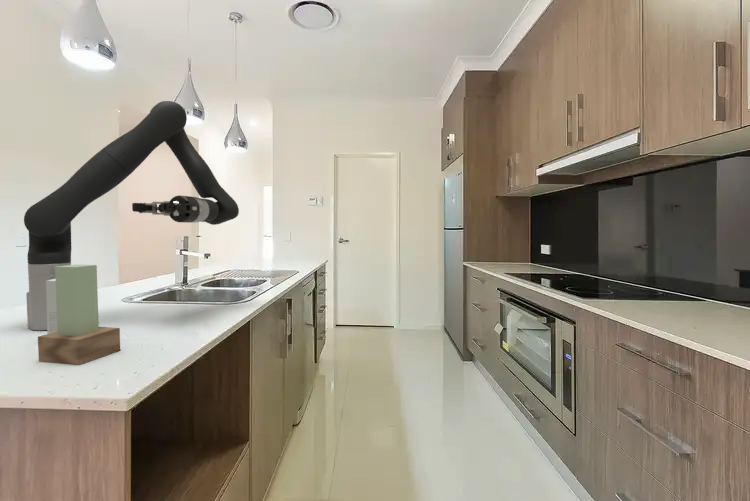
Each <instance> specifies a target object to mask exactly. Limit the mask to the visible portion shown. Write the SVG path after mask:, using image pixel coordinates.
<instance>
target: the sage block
mask: <svg viewBox="0 0 750 501" xmlns="http://www.w3.org/2000/svg"><path fill="white" fill-rule="evenodd" d="M97 269H98V265H97V264H71V265H67V266H57V267H55V278H56V304H57V330H58V335H66V336H81V335H84V334H88V333H92V332H95V331H99V327H100V324H99V322H100V321H99V295H98V294H99V293H98V270H97Z"/></svg>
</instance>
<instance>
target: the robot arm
mask: <svg viewBox="0 0 750 501" xmlns="http://www.w3.org/2000/svg"><path fill="white" fill-rule="evenodd" d="M187 120H188V119H187V113H186V109H185V108H184V107H183V106H182V104H179V103H178V102H174V101H173V100H172V101H171V100H164V101H160V102H158V103H156V104H155V105H153V107H152V108H151V109H150V111H149V113H148V114H147V115H146V116H145V117H144V118H143V119H142V120H141V121H140V122H139V123H138V124H137V125H136V126H135V127H133V128H132V129H131V130H129V131H127V132H125V133H124V134H123V135H121V136H119V137H117V138H116V139H114V140H113V141H112V142H110V143H108V144H107V145H106V146H104V147H103V148H102V149H100V150H99V151H98V152H97V153H96V154H94V155H93V156H92V157H91V158H90V159H88V160H87V161H86V162H85V163H84V164H83V165H82V166H81V167H80V168H78V169H77V170H76V171H75V172H74V174H73V175H71V176H70V178H69V179H68V180H67V181H66V182H65V183H63V184H62V185H61V186H59V187H58V188H57V189H56V190H54V191H53V192H51V193H49V194H48V195H47V196H45V197H43V198H42V199H40V200H39V201H37V202H36V203H34V204H33V205H31V206H30V207H29V208H27V210H26V211H25V213H24V217H23V223H24V226H25V228H26V230H27V231H28V249H27V250H28V251H27V273H28V274H27V275H28V291H27V292H26V316H27V317H26V319H27V328H28V329H30V330H32V331H47V296H46V281H47V280H52V279H56V278H55V267H57V266H67V265H72V221H73V220H74V219H75V218H76V217H77V216H78V215H79V214H80V213H81V212H82V211H83V210H84V209H85V208H86V207H87V206H88V205H90V204H91V203H92V202H94V201H95V200H97V199H99V198H101V197H102V196H104V195H105V194H107V193H108V192H110V191H111V190H113V189H114V188H116V187H117V186H118V185H120V184H121V183H122V182H124V180H125V179H127V177H129V176H130V175H131V174H132V173H133V172H134V171H135V170H136V169H138V168H139V166H141V164H143V163H144V161H145V160H146V159H147V158H148V156H150V155H151V153H153V152H154V150H155V149H156V148H157V147H159V146H160V145H162V144H163V143H165V144H166V145H167V146H168V148H169V149H170V150H171V151H172V153H173V155H174V156H175V157H176V159H177V161H178V162H179V164H180V165H181V167H182V169H183V170H184V172H185V174H186V176H187V177H188V179H189V181H190V183H191V184H192V186H193V188H194V189H195V191H196V192H197V194H198V196H199V197H196V196H190V195H189V196H188V195H175V196H173V197H172V198H171V199H170V200H169V201H168V200H164V201H151V203H150V202H149V203H148V202H147V203H146V202H143V203H142V202H132V205H131V206H132V207H131V208H132V209H131V210H132V212H135V213H139V214H152V215H153V216H155V215H160V216H161V215H162V216H164V217H166V216H169V217H170V219H171V220H173V221H174V222H175V223H207V224H209V225H212V226H215V225H220V224H223V223H226V222H229V221H231V220H234V219H236V218H237V217H238V216H239V214H240V209H239V206H238V205H239V204H238V203H237V202H236V201H235V199H234V198H233V197H232V196H231V195H230V194H229V193H228V192H227V191H226V190H225V188H223V187H222V185H220V184H219V182H218V180H217V178H216V176H215V175H214V173H213V171H212V170H211V168H210V167H209V165H208V164H207V162H206V161H205V160H204V158H203V157H202V156H201V155H200V154H199V152H198V151H197V150H196V149H195V147H194V145H193V144H192V142H191V140H190V139H189V137H188V134H187V133H186V131H185V126H186V124H187ZM211 198H212V199H211Z"/></svg>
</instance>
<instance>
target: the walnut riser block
mask: <svg viewBox="0 0 750 501" xmlns="http://www.w3.org/2000/svg"><path fill="white" fill-rule="evenodd" d="M37 347H38V348H37V349H38V350H37V351H38V354H37V355H38V362H44V363H54V364H55V363H57V364H64V365H65V364H66V365H76V366H80V365H83V364H85V363H89V362H91V361H94V360H97V359H99V358H103V357H106V356H109V355H112V354H114V353H116V352H120V351H121V333H120V327H112V326H111V327H109V326H108V327H107V326H99V331H95V332H92V333H88V334H84V335H81V336H66V335H58V332H54V333H50V334H43V335H38V336H37Z"/></svg>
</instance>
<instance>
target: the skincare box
mask: <svg viewBox="0 0 750 501" xmlns="http://www.w3.org/2000/svg"><path fill="white" fill-rule="evenodd" d="M46 296H47V330H46V331H47V334H50V333H54V332H58V330H57V304H56V279H52V280H47V281H46Z"/></svg>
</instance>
